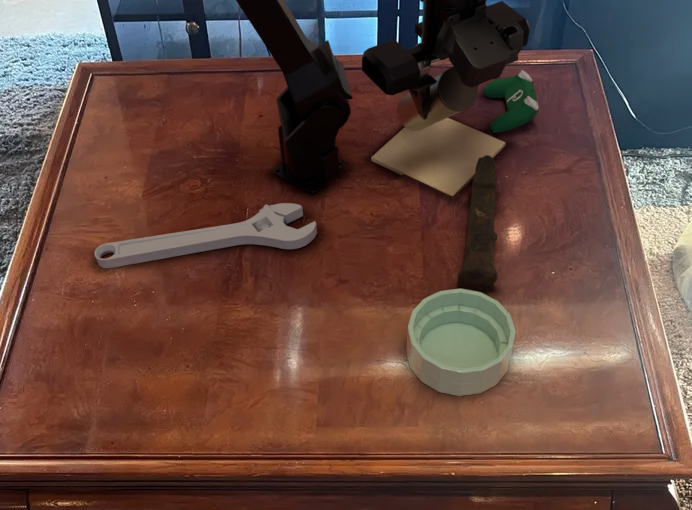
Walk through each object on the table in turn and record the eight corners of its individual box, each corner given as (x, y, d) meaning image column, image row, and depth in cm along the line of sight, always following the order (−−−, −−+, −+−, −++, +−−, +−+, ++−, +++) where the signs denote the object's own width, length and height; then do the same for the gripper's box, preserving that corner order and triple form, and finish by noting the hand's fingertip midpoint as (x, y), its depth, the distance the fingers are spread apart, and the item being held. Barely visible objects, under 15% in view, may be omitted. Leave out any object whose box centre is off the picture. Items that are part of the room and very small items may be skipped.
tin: (389, 110, 101) (430, 86, 89) (414, 83, 102) (458, 57, 90) (414, 139, 102) (458, 120, 91) (439, 113, 103) (486, 90, 91)
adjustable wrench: (97, 271, 91) (92, 261, 90) (101, 231, 95) (97, 220, 94) (316, 247, 92) (315, 236, 91) (311, 209, 96) (310, 197, 94)
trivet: (370, 160, 101) (371, 157, 100) (425, 111, 106) (425, 107, 106) (452, 199, 96) (452, 195, 95) (505, 146, 101) (505, 142, 101)
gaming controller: (506, 147, 104) (545, 119, 100) (487, 130, 102) (527, 101, 98) (497, 102, 109) (534, 75, 106) (480, 86, 107) (517, 57, 104)
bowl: (387, 364, 82) (387, 337, 78) (443, 302, 86) (446, 273, 83) (473, 416, 77) (478, 390, 74) (527, 347, 82) (534, 320, 79)
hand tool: (493, 297, 86) (499, 267, 83) (456, 292, 87) (460, 262, 83) (506, 179, 98) (512, 149, 94) (473, 176, 98) (477, 145, 94)
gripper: (417, 50, 77) (410, 177, 89) (574, -7, 81) (547, 121, 94) (358, -3, 83) (360, 122, 95) (507, -53, 88) (490, 72, 100)
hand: (441, 110), depth 96 cm, fingers closed on tin, 5 cm apart
